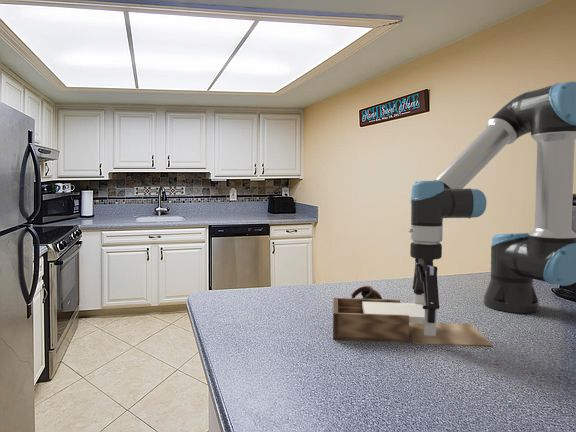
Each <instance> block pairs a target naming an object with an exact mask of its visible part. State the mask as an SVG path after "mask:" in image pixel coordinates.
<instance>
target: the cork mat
mask: <svg viewBox="0 0 576 432" xmlns="http://www.w3.org/2000/svg"><path fill="white" fill-rule="evenodd" d="M409 339H411V342H412V343H413V344H424V345H425V344H426V345H445V346H446V345H448V346H450V345H451V346H474V347H493V344H492V343H491V342H490V341H489V340H488V339H487V338H486V337H485V336H484V335H483V334H482V333H481V332H480V331H478V329H477V328H476V327H475V326H474V325H473V324H471V323H469V324H468V323H446V322H444V323H443V322H441V323H440V322H436V336H428V335H424V323H409Z"/></svg>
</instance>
